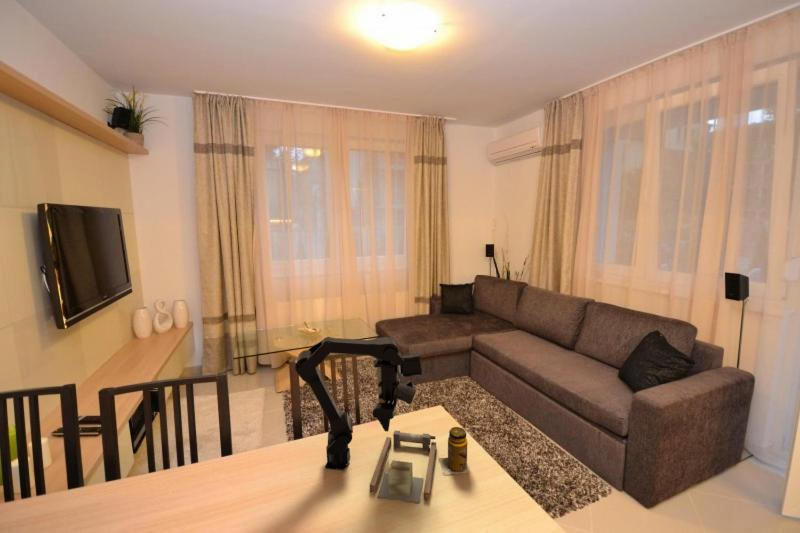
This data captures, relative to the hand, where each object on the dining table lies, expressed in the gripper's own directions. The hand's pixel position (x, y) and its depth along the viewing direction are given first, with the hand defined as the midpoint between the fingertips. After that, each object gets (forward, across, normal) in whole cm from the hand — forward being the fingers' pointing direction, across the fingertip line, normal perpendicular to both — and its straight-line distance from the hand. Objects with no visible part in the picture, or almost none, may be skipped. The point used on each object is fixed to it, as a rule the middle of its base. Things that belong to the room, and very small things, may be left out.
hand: (389, 422), depth 116 cm
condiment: (+12, -1, -21) cm, 24 cm away
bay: (+12, -5, -6) cm, 14 cm away
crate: (+12, -13, -6) cm, 18 cm away
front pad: (+12, -13, -6) cm, 19 cm away
